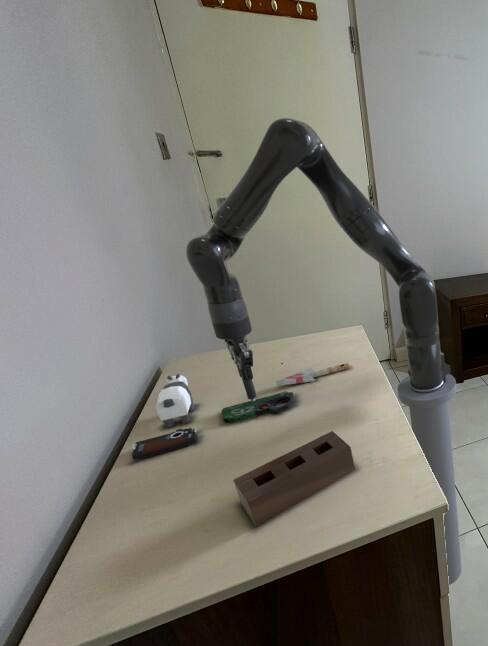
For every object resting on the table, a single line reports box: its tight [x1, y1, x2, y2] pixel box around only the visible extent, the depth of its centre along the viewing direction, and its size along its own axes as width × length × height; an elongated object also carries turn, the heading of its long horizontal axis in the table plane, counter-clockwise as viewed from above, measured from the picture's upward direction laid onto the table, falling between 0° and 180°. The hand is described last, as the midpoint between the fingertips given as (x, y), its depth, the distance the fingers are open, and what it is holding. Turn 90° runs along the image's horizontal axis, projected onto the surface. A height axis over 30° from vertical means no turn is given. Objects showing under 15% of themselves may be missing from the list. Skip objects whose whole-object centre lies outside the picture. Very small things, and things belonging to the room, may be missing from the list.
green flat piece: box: [221, 391, 296, 424], centre depth 104 cm, size 16×2×10 cm
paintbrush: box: [275, 362, 350, 387], centre depth 119 cm, size 4×3×20 cm
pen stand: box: [232, 430, 356, 528], centre depth 79 cm, size 8×19×6 cm, turn 139°
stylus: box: [237, 362, 258, 402], centre depth 104 cm, size 2×2×12 cm
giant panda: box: [155, 373, 196, 428], centre depth 102 cm, size 15×6×10 cm, turn 29°
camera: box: [131, 427, 198, 461], centre depth 91 cm, size 6×3×11 cm
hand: (246, 377), depth 103 cm, fingers closed on stylus, 2 cm apart
